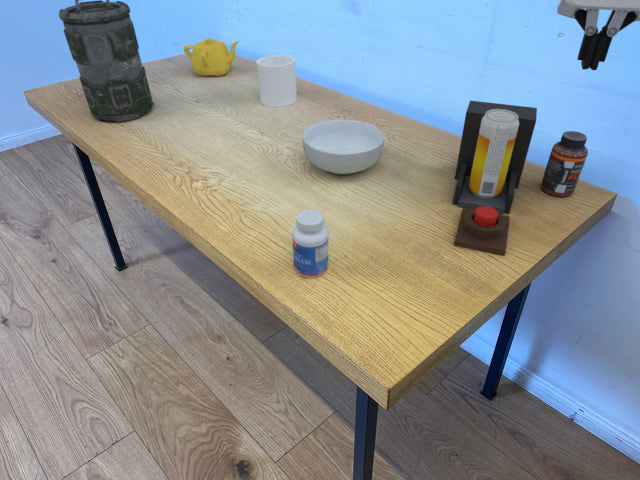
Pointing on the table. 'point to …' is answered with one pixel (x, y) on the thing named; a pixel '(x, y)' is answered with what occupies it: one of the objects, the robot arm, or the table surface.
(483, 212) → the button
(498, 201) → the dark grey cradle
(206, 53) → the teapot
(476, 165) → the beer can
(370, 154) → the cereal bowl
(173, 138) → the table surface
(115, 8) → the canister
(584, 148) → the supplement bottle
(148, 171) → the table surface
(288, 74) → the mug
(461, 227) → the button block
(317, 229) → the pill bottle
